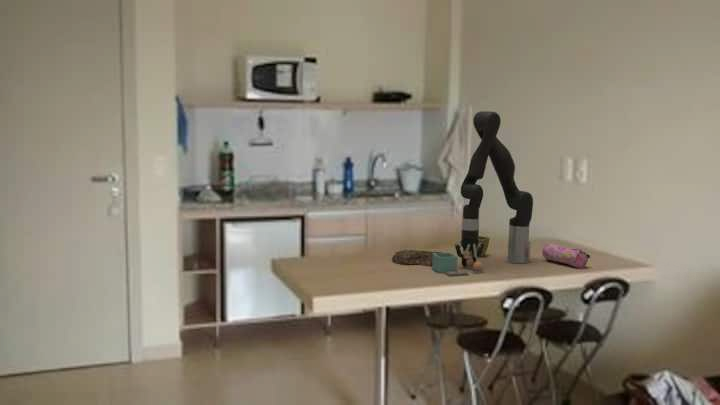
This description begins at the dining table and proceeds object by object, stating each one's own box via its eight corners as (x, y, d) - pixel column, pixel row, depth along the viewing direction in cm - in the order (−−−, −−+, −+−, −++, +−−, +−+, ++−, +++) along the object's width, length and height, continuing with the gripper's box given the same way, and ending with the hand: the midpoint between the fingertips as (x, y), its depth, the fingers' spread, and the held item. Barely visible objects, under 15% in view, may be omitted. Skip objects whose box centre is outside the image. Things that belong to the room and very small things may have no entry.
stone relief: (396, 244, 356) (458, 248, 350) (396, 253, 356) (458, 257, 351) (388, 255, 330) (454, 259, 325) (387, 265, 331) (454, 269, 325)
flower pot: (489, 255, 354) (490, 237, 353) (482, 258, 347) (482, 239, 345) (472, 253, 359) (473, 235, 357) (465, 256, 351) (465, 237, 350)
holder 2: (479, 271, 320) (479, 268, 320) (483, 273, 317) (483, 270, 317) (471, 271, 319) (471, 269, 319) (475, 273, 316) (475, 270, 316)
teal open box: (449, 268, 325) (449, 252, 324) (456, 272, 317) (457, 256, 316) (432, 269, 323) (432, 253, 322) (439, 273, 315) (439, 257, 314)
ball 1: (471, 264, 329) (471, 256, 328) (474, 266, 325) (475, 258, 325) (462, 265, 328) (463, 256, 327) (466, 267, 324) (466, 258, 323)
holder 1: (470, 266, 329) (470, 264, 329) (474, 268, 325) (474, 265, 325) (463, 267, 328) (463, 264, 328) (466, 268, 324) (466, 266, 324)
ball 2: (479, 269, 320) (480, 260, 320) (483, 271, 317) (484, 262, 316) (471, 269, 319) (471, 260, 319) (475, 271, 316) (475, 262, 315)
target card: (463, 272, 317) (463, 270, 317) (468, 275, 313) (468, 272, 312) (444, 273, 315) (444, 271, 315) (449, 276, 310) (449, 274, 310)
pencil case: (590, 268, 331) (591, 248, 330) (576, 270, 326) (577, 250, 325) (553, 259, 349) (554, 240, 348) (540, 261, 344) (541, 242, 343)
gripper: (481, 226, 330) (479, 263, 332) (452, 227, 326) (450, 265, 328) (488, 229, 323) (486, 267, 325) (458, 230, 319) (457, 268, 321)
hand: (468, 265), depth 326 cm, fingers closed on ball 1, 4 cm apart
